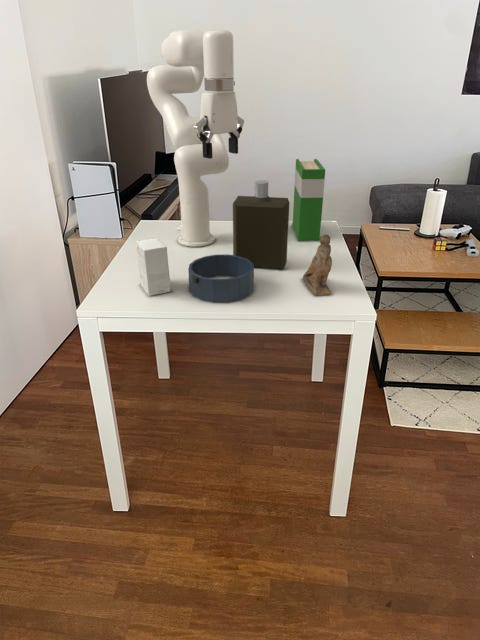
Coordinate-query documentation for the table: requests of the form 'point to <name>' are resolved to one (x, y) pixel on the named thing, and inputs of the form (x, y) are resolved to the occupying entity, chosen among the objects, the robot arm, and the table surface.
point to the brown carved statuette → (319, 269)
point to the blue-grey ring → (221, 288)
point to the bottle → (261, 228)
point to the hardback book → (308, 199)
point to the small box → (153, 266)
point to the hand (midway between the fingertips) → (220, 155)
